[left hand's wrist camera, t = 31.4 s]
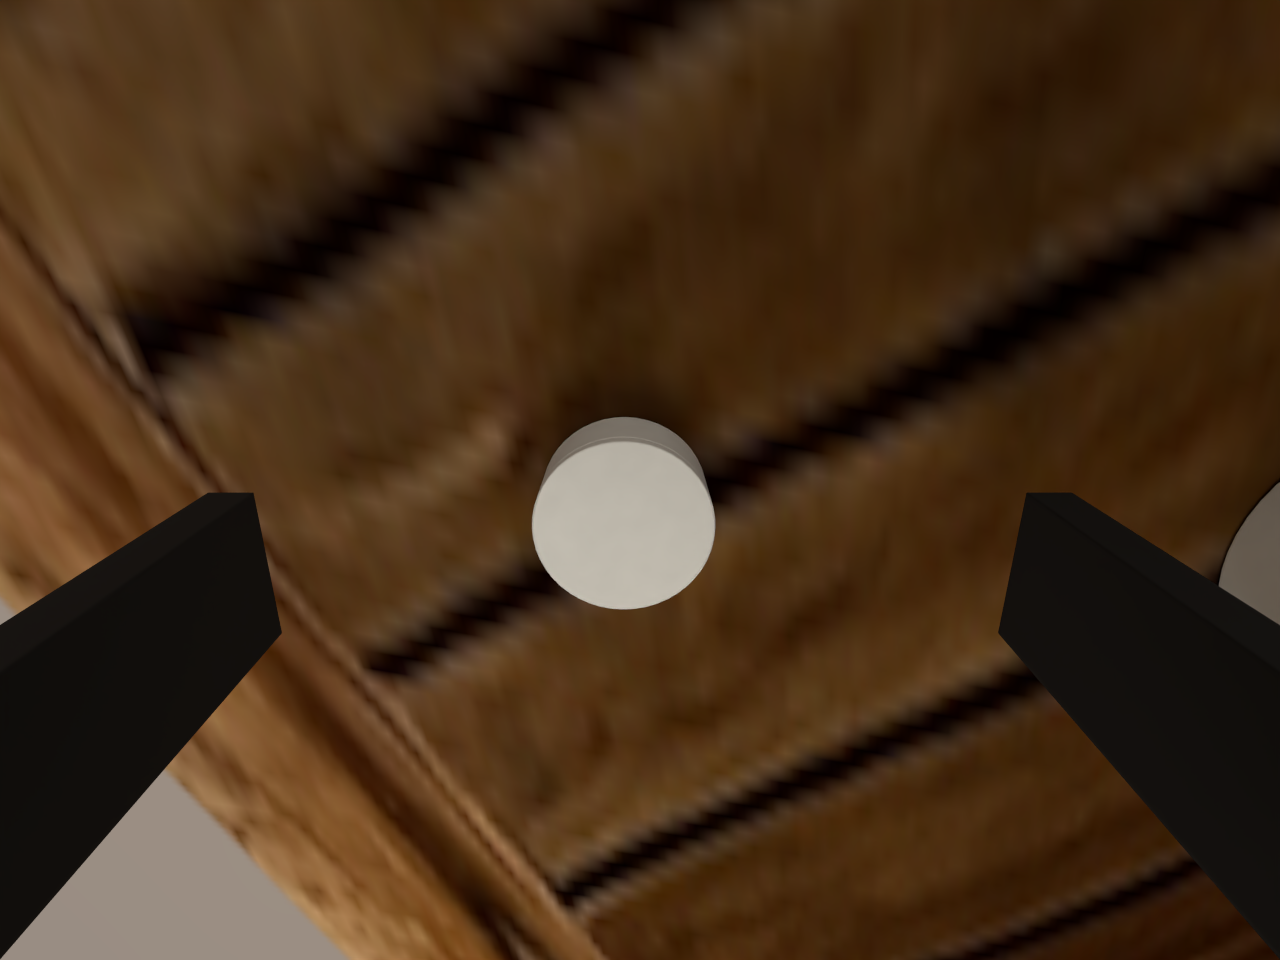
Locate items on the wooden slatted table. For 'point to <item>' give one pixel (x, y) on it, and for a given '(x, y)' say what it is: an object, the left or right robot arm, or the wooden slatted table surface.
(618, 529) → the cap
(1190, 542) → the wooden slatted table surface
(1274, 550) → the bottle
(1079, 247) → the wooden slatted table surface
